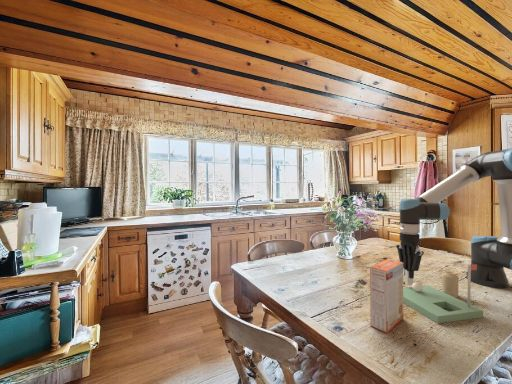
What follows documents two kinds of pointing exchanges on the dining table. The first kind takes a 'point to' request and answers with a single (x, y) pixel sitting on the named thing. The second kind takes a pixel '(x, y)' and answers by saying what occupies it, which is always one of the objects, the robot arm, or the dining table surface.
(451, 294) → the candle
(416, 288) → the ball
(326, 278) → the dining table surface
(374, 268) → the cracker box
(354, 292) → the dining table surface
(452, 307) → the green
